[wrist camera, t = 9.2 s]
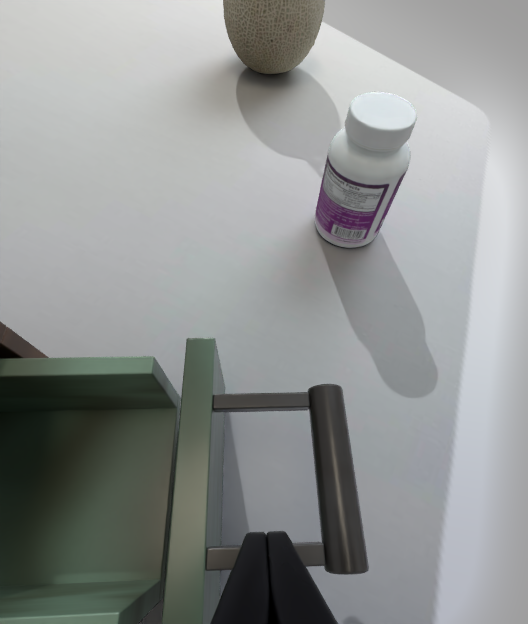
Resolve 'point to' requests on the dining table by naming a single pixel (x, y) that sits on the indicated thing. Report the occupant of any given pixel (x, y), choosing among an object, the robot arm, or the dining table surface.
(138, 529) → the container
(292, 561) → the robot arm
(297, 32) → the fruit
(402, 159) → the pill bottle
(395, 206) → the dining table surface
